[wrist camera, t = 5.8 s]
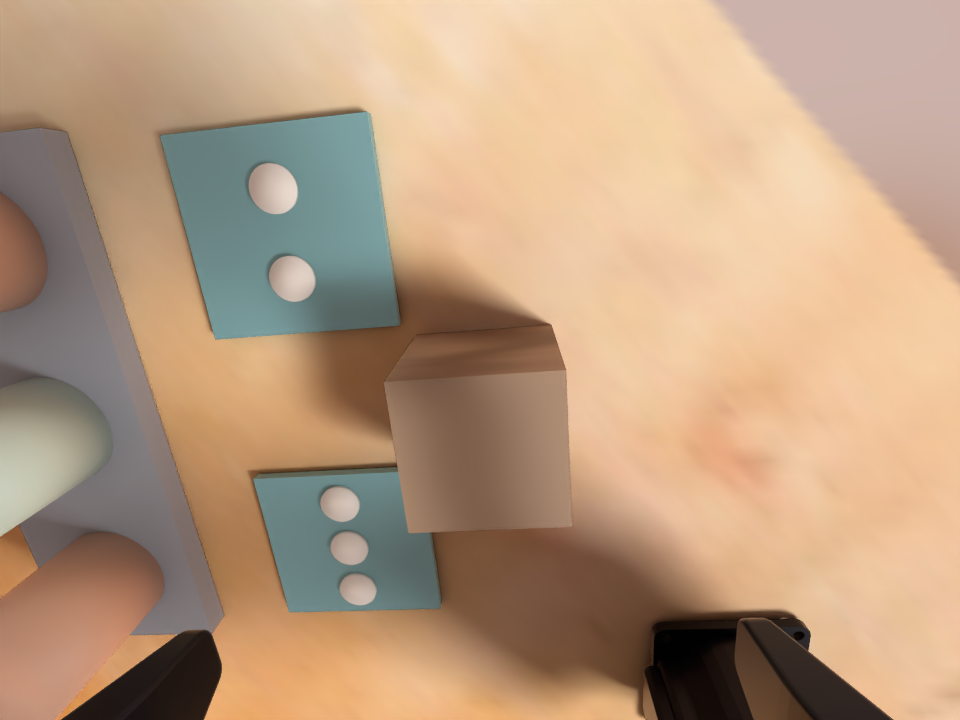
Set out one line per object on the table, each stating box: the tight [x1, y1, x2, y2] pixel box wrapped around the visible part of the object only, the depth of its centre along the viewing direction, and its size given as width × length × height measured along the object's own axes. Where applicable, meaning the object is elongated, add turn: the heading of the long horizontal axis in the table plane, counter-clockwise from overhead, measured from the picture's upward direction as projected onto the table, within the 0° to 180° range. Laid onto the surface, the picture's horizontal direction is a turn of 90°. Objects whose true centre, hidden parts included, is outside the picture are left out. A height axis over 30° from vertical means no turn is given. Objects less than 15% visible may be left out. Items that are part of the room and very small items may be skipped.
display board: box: [0, 128, 224, 720], centre depth 17 cm, size 7×21×6 cm, turn 5°
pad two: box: [160, 112, 401, 340], centre depth 17 cm, size 7×7×1 cm
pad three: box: [253, 467, 442, 612], centre depth 21 cm, size 7×7×1 cm
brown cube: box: [384, 325, 572, 533], centre depth 16 cm, size 5×5×5 cm
